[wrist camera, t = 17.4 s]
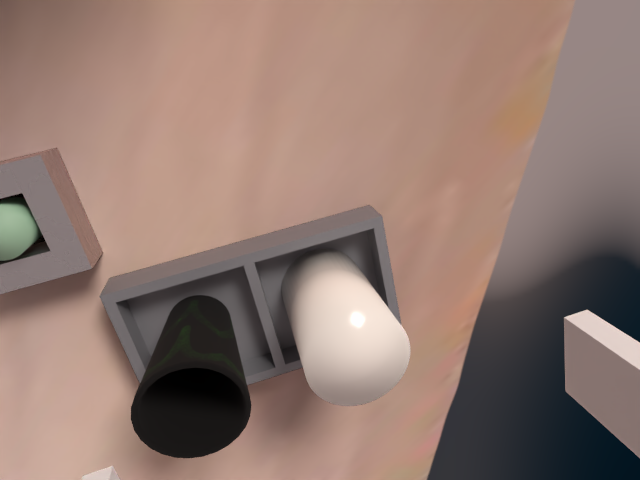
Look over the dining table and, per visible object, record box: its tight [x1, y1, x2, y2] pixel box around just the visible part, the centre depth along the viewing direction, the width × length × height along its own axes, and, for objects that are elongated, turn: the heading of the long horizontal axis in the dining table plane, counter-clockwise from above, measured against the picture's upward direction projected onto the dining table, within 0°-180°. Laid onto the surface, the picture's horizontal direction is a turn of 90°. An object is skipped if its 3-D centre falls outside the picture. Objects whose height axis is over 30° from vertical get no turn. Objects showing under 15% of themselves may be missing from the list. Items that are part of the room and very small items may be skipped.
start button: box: [0, 197, 42, 261], centre depth 34 cm, size 4×4×4 cm
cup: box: [131, 295, 251, 458], centre depth 36 cm, size 8×8×12 cm
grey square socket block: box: [0, 148, 103, 294], centre depth 34 cm, size 9×9×4 cm
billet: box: [282, 249, 410, 406], centre depth 37 cm, size 8×8×12 cm
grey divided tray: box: [100, 205, 402, 385], centre depth 41 cm, size 12×24×4 cm, turn 103°
